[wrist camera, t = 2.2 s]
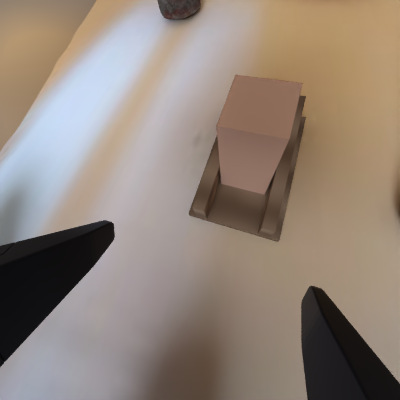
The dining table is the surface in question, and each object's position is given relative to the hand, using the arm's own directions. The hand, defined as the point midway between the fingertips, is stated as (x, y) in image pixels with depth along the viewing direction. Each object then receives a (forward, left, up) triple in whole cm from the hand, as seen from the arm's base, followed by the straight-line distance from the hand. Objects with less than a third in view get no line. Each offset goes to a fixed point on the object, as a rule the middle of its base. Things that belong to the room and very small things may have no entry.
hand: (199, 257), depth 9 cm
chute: (+11, -7, -13) cm, 18 cm away
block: (+10, -6, -13) cm, 17 cm away
